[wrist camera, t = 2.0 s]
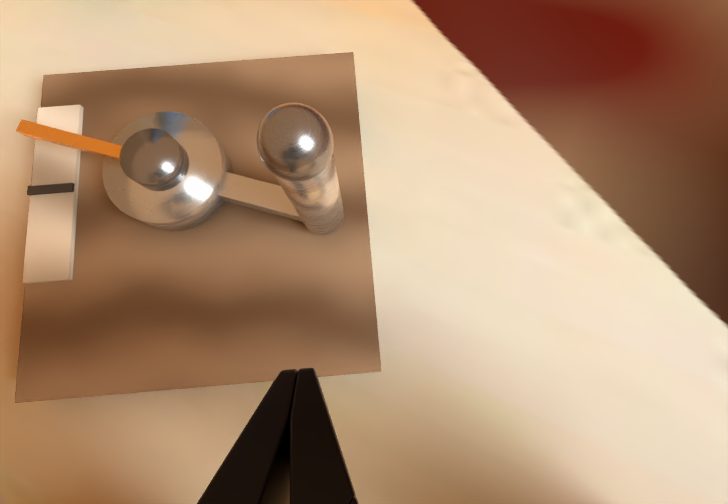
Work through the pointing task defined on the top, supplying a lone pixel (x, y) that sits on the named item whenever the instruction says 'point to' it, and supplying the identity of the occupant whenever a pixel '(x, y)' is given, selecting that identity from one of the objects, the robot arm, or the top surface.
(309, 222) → the metal post and dome
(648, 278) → the top surface
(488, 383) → the top surface
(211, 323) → the stand
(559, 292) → the top surface
